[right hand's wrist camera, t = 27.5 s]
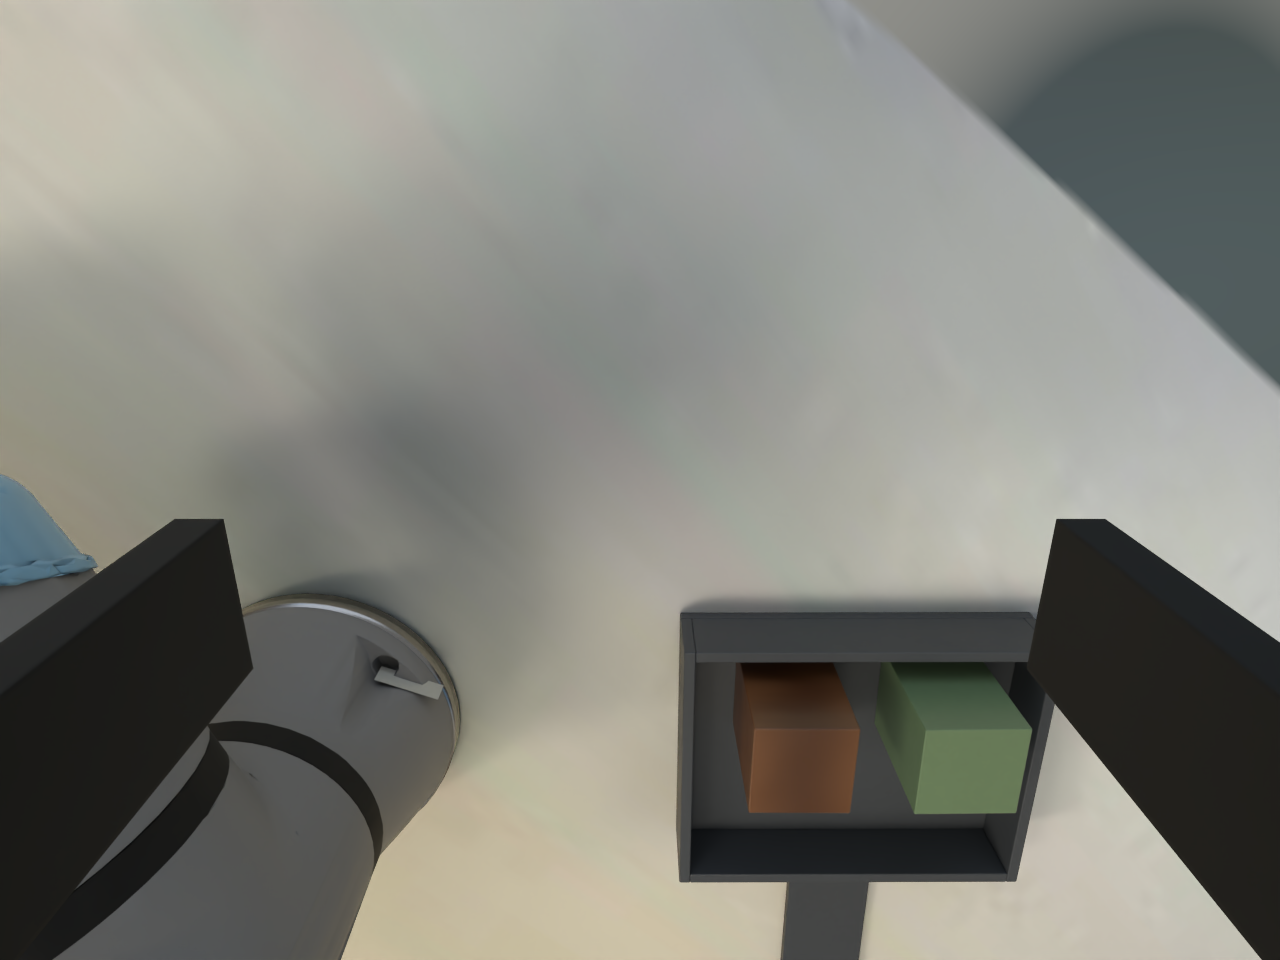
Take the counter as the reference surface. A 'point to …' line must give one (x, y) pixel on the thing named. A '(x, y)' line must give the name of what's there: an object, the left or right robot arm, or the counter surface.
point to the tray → (880, 811)
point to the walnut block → (795, 737)
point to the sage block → (952, 736)
